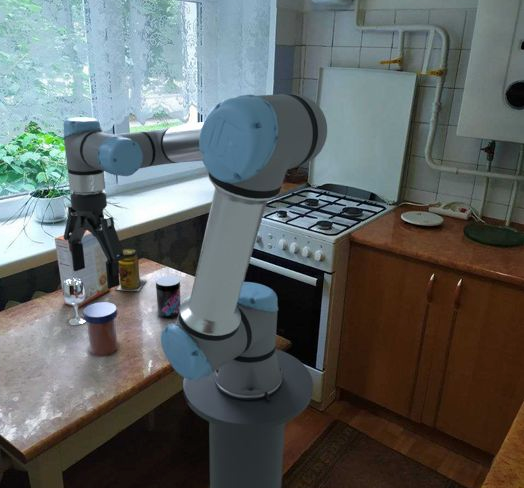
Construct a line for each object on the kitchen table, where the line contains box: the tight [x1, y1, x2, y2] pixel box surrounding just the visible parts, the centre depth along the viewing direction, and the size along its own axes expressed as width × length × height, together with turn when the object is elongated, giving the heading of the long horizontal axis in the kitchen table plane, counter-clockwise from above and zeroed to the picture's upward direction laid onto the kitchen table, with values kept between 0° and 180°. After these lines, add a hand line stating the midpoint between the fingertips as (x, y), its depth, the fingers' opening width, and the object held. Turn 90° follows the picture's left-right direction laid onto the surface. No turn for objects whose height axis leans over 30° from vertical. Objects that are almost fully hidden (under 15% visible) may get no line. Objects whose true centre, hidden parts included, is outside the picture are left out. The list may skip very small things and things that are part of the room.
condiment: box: [115, 248, 147, 292], centre depth 157 cm, size 7×8×12 cm
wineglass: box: [62, 278, 87, 326], centre depth 135 cm, size 6×6×12 cm
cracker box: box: [54, 227, 111, 308], centre depth 147 cm, size 14×6×21 cm, turn 154°
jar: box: [86, 318, 119, 357], centre depth 123 cm, size 7×7×11 cm
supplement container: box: [155, 275, 182, 319], centre depth 141 cm, size 7×7×10 cm
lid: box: [82, 301, 118, 324], centre depth 121 cm, size 8×8×2 cm
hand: (95, 277), depth 117 cm, fingers open, 13 cm apart
